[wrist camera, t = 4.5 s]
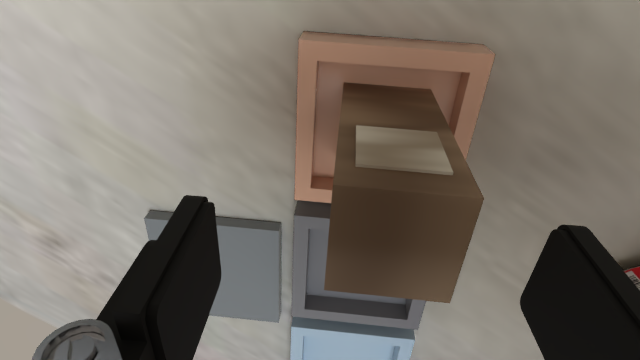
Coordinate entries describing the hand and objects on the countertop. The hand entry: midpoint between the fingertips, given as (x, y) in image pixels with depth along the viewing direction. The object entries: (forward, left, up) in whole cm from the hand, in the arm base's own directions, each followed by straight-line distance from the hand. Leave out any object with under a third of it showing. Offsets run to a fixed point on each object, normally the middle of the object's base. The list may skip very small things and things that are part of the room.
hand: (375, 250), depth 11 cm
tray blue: (-1, +18, -10) cm, 21 cm away
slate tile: (+8, +11, -10) cm, 17 cm away
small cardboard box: (-1, 0, -9) cm, 9 cm away
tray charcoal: (-1, +9, -10) cm, 14 cm away
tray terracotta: (-1, 0, -10) cm, 10 cm away
